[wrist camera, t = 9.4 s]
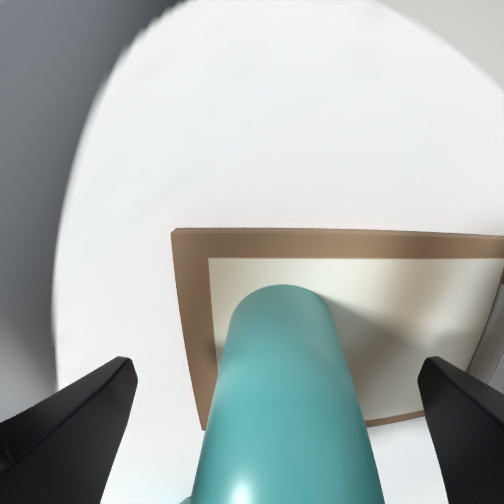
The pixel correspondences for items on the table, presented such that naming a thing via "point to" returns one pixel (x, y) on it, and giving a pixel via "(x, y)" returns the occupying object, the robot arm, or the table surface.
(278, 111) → the table surface
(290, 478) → the teal capped bottle
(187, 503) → the flower pot
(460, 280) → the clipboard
